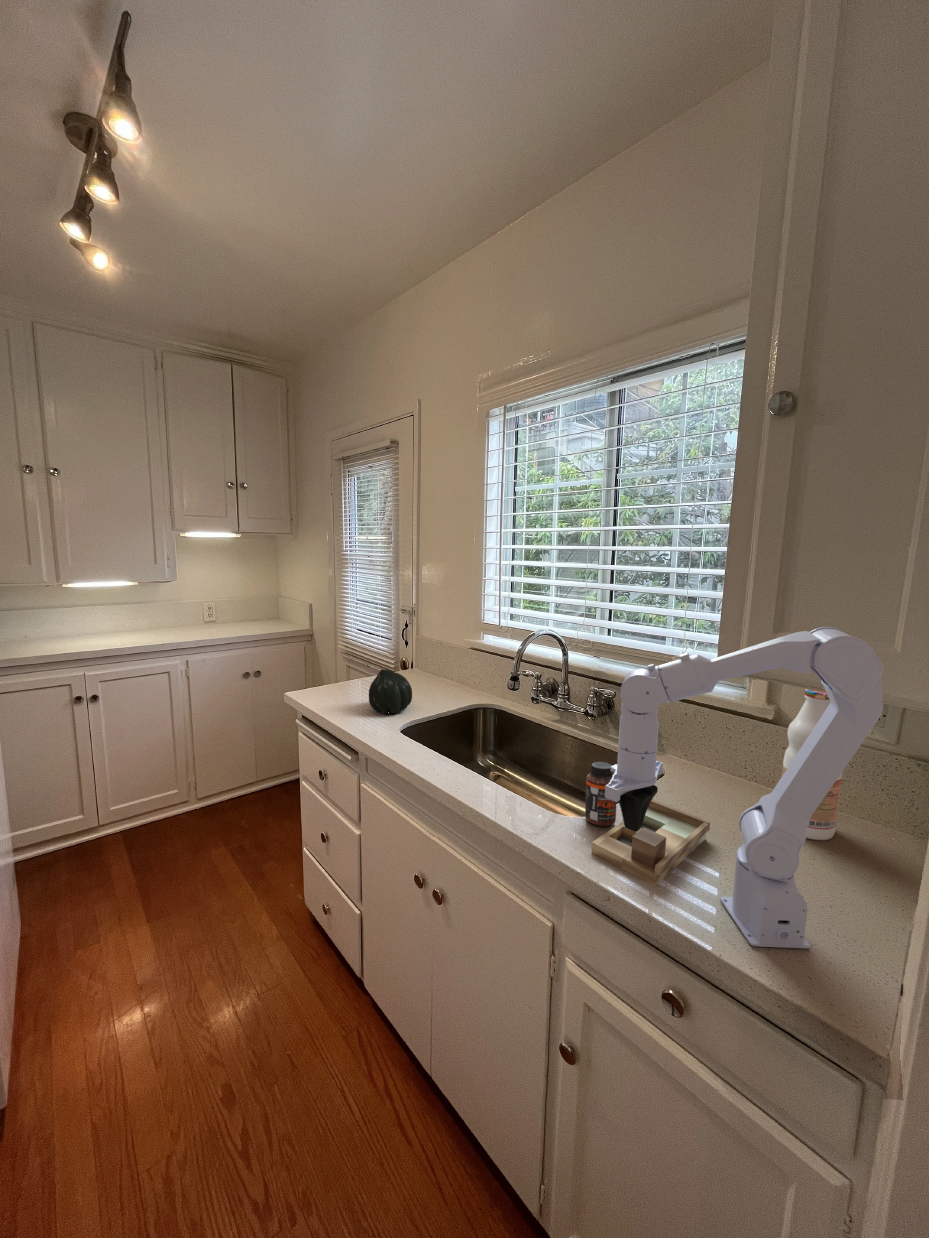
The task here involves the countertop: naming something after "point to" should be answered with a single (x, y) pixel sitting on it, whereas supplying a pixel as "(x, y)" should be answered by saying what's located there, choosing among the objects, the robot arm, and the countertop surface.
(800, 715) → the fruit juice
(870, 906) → the countertop surface
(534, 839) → the countertop surface
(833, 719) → the robot arm
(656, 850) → the walnut block
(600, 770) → the supplement bottle
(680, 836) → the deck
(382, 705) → the squash
